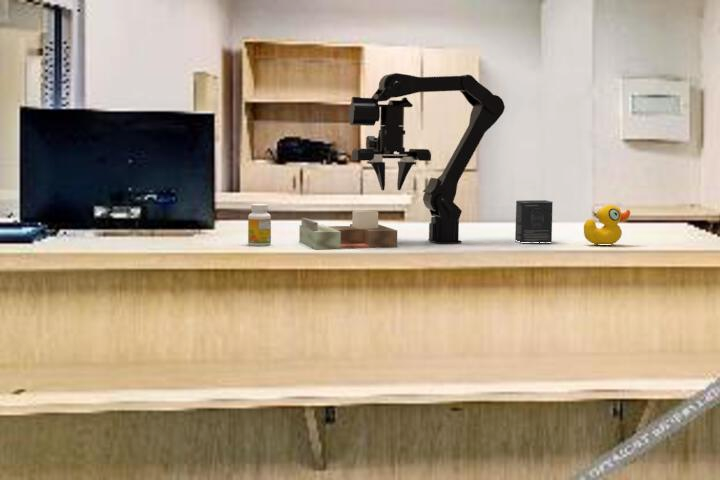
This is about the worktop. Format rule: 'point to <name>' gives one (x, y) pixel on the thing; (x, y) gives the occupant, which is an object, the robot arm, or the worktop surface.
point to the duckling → (606, 226)
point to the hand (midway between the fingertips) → (390, 190)
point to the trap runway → (345, 236)
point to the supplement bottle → (259, 225)
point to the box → (534, 221)
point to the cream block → (365, 219)
